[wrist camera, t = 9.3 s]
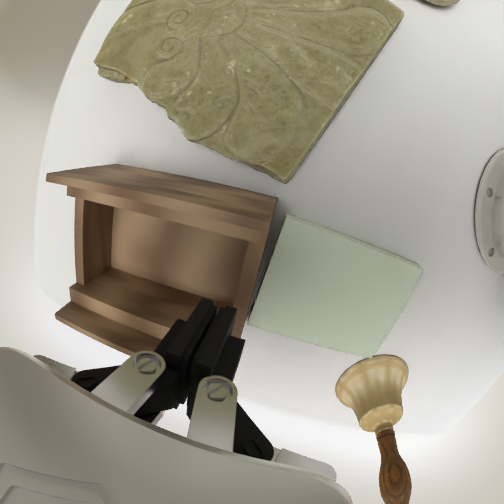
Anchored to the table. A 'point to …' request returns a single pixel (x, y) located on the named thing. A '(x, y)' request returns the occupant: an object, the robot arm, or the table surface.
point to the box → (158, 251)
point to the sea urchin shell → (443, 2)
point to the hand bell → (380, 416)
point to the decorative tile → (249, 68)
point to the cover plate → (332, 289)
